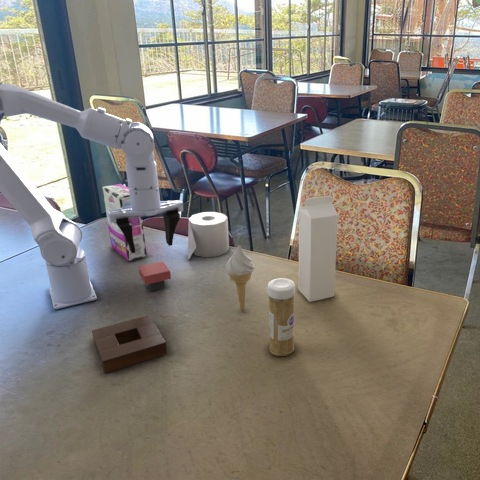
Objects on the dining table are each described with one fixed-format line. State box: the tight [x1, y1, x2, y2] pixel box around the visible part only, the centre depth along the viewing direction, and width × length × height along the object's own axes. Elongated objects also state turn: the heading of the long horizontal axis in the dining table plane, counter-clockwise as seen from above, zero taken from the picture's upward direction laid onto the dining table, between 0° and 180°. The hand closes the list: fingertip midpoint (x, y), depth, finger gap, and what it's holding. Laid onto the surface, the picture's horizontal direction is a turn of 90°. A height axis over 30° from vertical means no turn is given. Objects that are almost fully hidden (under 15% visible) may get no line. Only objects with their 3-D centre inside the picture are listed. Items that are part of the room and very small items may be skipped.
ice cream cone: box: [224, 244, 255, 313], centre depth 94 cm, size 6×6×15 cm
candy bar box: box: [101, 183, 148, 262], centre depth 118 cm, size 11×5×16 cm, turn 43°
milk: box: [297, 195, 339, 303], centre depth 100 cm, size 6×6×22 cm
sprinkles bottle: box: [267, 277, 296, 357], centre depth 83 cm, size 5×5×14 cm
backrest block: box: [91, 314, 168, 374], centre depth 85 cm, size 10×10×2 cm
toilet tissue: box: [187, 211, 230, 261], centre depth 120 cm, size 9×13×9 cm
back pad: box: [137, 260, 172, 292], centre depth 105 cm, size 5×5×4 cm
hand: (151, 247), depth 102 cm, fingers open, 7 cm apart
